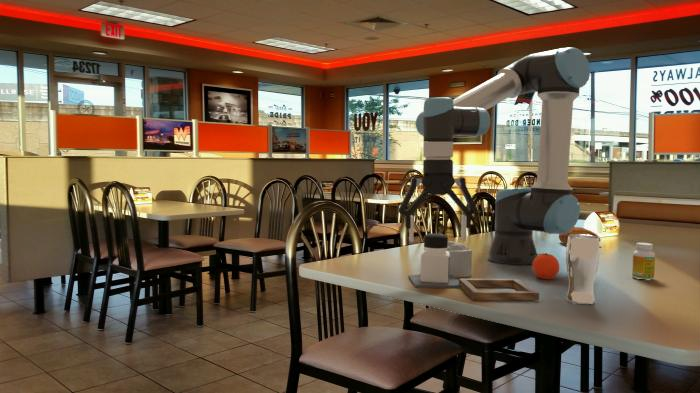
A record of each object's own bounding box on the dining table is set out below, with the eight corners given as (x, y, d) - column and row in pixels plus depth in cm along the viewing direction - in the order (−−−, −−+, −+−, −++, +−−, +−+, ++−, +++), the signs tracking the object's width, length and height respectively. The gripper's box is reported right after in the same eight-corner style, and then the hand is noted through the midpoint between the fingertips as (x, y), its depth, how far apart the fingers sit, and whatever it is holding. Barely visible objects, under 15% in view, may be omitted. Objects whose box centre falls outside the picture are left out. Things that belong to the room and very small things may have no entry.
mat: (452, 277, 154) (452, 275, 154) (463, 287, 142) (463, 285, 142) (408, 277, 154) (408, 275, 154) (415, 287, 142) (415, 285, 142)
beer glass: (558, 297, 134) (561, 234, 133) (587, 297, 134) (590, 234, 133) (572, 305, 127) (575, 238, 126) (603, 305, 127) (606, 238, 126)
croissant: (562, 252, 214) (563, 232, 212) (555, 241, 229) (556, 221, 227) (603, 253, 211) (604, 232, 209) (594, 241, 226) (595, 222, 224)
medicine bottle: (448, 283, 144) (450, 236, 143) (420, 282, 145) (421, 235, 145) (448, 277, 151) (450, 232, 150) (421, 276, 152) (422, 231, 152)
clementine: (523, 276, 158) (524, 251, 157) (543, 274, 160) (544, 249, 160) (544, 282, 150) (545, 255, 150) (564, 280, 153) (565, 254, 153)
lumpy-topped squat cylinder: (430, 268, 168) (431, 238, 167) (475, 272, 163) (475, 242, 162) (420, 274, 159) (421, 243, 158) (466, 279, 153) (467, 247, 153)
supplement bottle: (645, 281, 154) (647, 245, 153) (627, 277, 158) (629, 242, 158) (658, 279, 156) (660, 244, 155) (640, 275, 161) (642, 241, 160)
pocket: (517, 285, 145) (517, 278, 145) (538, 300, 131) (538, 292, 130) (458, 285, 145) (459, 278, 145) (473, 300, 130) (473, 292, 130)
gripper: (482, 158, 150) (481, 237, 152) (388, 158, 149) (388, 239, 151) (490, 158, 143) (489, 242, 145) (391, 159, 142) (391, 243, 144)
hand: (437, 240), depth 148 cm, fingers open, 13 cm apart
